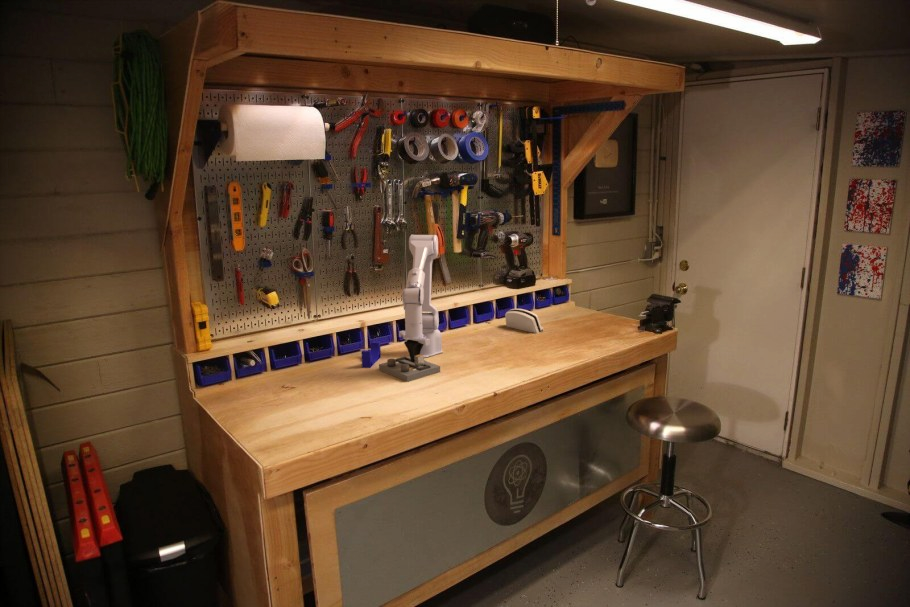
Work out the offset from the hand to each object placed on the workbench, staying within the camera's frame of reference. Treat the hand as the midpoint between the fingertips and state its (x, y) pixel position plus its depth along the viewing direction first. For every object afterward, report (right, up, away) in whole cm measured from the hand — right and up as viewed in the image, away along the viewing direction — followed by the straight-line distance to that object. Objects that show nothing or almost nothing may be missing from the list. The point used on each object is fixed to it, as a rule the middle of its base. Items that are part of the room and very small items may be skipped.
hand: (414, 361), depth 208 cm
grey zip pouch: (+42, +8, +50) cm, 66 cm away
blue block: (-17, -2, +11) cm, 20 cm away
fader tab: (+2, -2, -1) cm, 3 cm away
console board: (-2, -3, +1) cm, 4 cm away
